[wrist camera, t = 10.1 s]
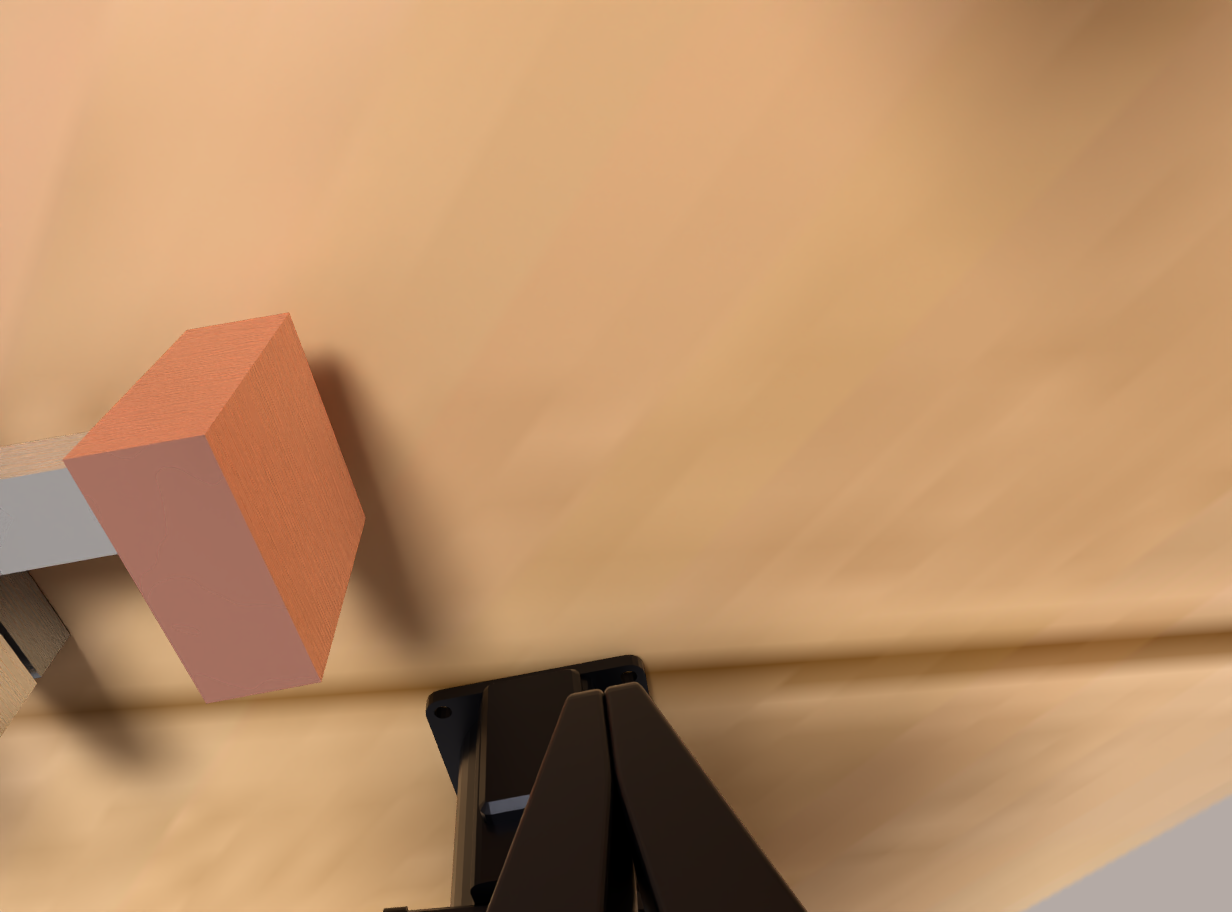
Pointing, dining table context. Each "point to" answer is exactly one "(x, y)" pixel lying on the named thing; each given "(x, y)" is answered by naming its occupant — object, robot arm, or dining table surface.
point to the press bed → (29, 623)
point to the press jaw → (201, 509)
